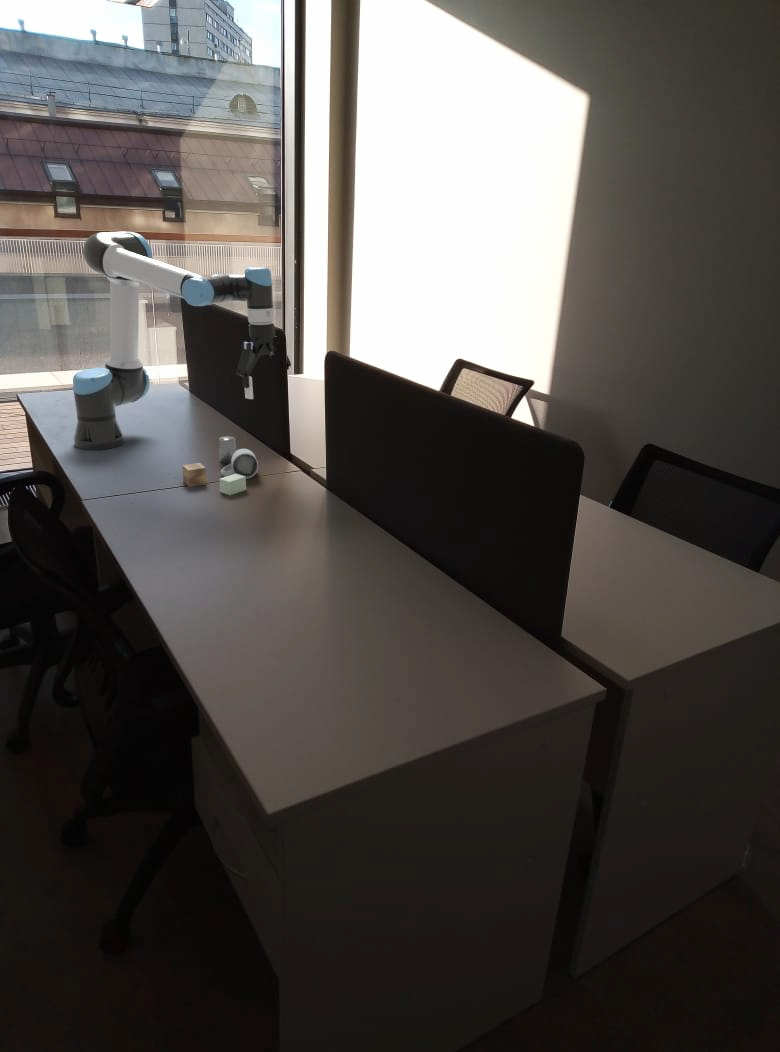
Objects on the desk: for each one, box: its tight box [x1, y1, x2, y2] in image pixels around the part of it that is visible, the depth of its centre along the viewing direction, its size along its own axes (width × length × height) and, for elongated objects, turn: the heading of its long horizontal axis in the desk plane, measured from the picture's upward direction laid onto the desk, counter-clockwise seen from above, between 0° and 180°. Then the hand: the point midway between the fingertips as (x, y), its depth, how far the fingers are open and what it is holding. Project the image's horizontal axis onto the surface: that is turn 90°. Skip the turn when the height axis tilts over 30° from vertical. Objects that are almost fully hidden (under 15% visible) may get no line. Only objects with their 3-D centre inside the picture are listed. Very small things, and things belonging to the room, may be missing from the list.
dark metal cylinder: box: [218, 435, 237, 464], centre depth 236 cm, size 5×5×7 cm
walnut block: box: [181, 462, 208, 488], centre depth 217 cm, size 5×5×5 cm
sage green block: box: [219, 474, 247, 496], centre depth 212 cm, size 6×4×4 cm, turn 143°
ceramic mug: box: [220, 448, 259, 480], centre depth 224 cm, size 11×8×8 cm
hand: (266, 394), depth 233 cm, fingers open, 13 cm apart
